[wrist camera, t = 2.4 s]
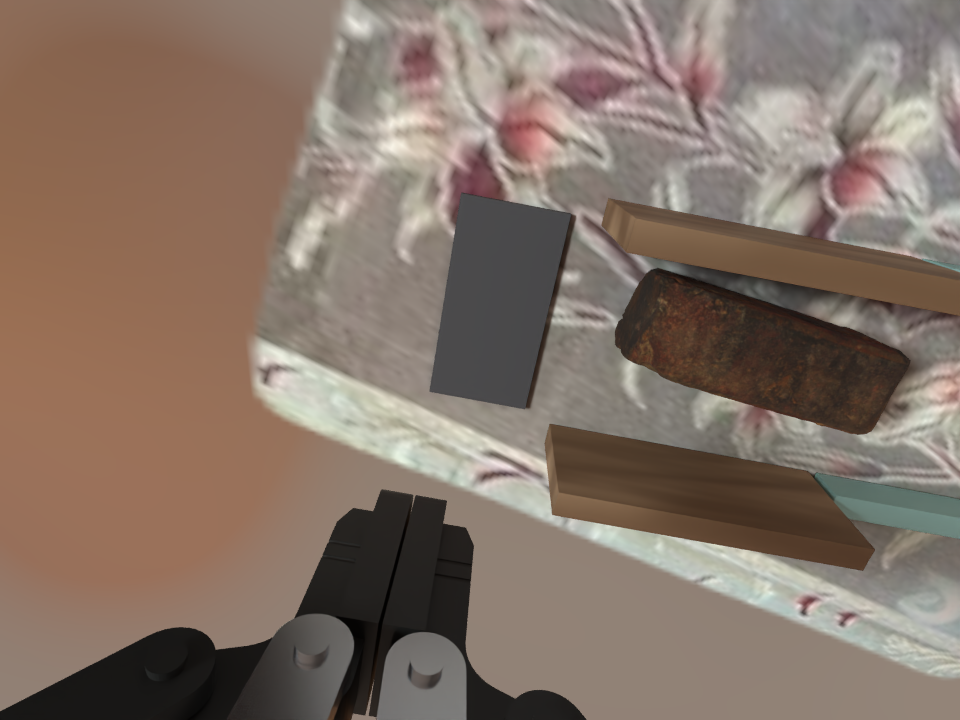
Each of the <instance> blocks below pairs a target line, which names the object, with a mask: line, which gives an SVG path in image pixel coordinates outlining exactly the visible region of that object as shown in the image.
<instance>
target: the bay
mask: <svg viewBox="0 0 960 720" xmlns="http://www.w3.org/2000/svg"><path fill="white" fill-rule="evenodd" d="M922 260H924V261H927V262H930V263H933V264H936V265H939V266H942V267H945V268H949V269H952V270H955V271H958V272H960V266H958V265H953V264H948V263H942V262H937V261H932V260H927V259H922ZM814 479H815V481H816V482H817V483H818V484H819V485H820V486H821V488H822V489H823V490H824V491H825V492H826V493H827V494H828V496H829V497H830V498H831V499H832V500H833V501H834V503H835V504H836V505H837V506H838V507H839V508H840V510H841V511H842V512H843V513H844V514H845V515H846V517H847V518H848V519H853V520H858V521H864V522H869V523H875V524H880V525H886V526H891V527H897V528H902V529H908V530H913V531H919V532H924V533H930V534H935V535H941V536H946V537H952V538H957V539H960V499H957V498H951V497H946V496H940V495H935V494H929V493H924V492H918V491H913V490H908V489H902V488H897V487H891V486H886V485H880V484H875V483H869V482H864V481H858V480H853V479H847V478H842V477H837V476H831V475H826V474H820V473H816V475H815V477H814Z"/></svg>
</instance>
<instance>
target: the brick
mask: <svg viewBox="0 0 960 720" xmlns="http://www.w3.org/2000/svg"><path fill="white" fill-rule="evenodd" d="M615 345H616V346H617V347H618V348H620V349H621V353H622V355H623V356H624V357H625V358H626V359H628V360H630V361H632V362H633V363H636V364H638V365H642V366H645V367H647V368H648V369H650V370H652V371H655V372H657V373H658V374H659V375H660V376H661V377H663V378H665V379H668V380H670V381H673V382H675V383H679V384H682V385H684V386H687V387H690V388H695V389H699V390H702V391H705V392H708V393H711V394H714V395H718V396H721V397H725V398H728V399H732V400H735V401H738V402H742V403H745V404H749V405H752V406H755V407H759V408H762V409H766V410H770V411H774V412H776V413H780V414H783V415H787V416H791V417H795V418H798V419H801V420H806V421H811V422H814V423H816V424H817V425H820V426H826V427H830V428H834V429H838V430H841V431H844V432H847V433H850V434H857V435H860V434H867V433H869V432H871V431H872V430H873V428H874V427H875V425H876V423H877V421H878V420H879V418H880V416H881V414H882V412H883V410H884V408H885V406H886V404H887V402H888V400H889V399H890V397H891V395H892V393H893V392H894V390H895V388H896V387H897V385H898V383H899V382H900V380H901V378H902V377H903V375H904V373H905V371H906V370H907V368H908V366H909V364H910V360H909V359H908V358H907V357H906V356H905V355H904V354H903V353H902V352H900V351H899V350H897V349H894V348H892V347H889V346H887V345H885V344H883V343H880V342H878V341H877V340H875V339H873V338H870V337H868V336H866V335H864V334H862V333H860V332H857V331H855V330H852V329H850V328H847V327H840V326H837V325H834V324H832V323H828V322H824V321H821V320H819V319H817V318H814V317H811V316H807V315H804V314H802V313H799V312H796V311H792V310H789V309H785V308H782V307H779V306H776V305H773V304H771V303H768V302H764V301H761V300H758V299H755V298H752V297H748V296H745V295H741V294H738V293H735V292H732V291H730V290H726V289H723V288H719V287H716V286H713V285H710V284H707V283H704V282H702V281H698V280H695V279H693V278H689V277H686V276H682V275H679V274H675V273H673V272H669V271H666V270H663V269H660V268H657V269H653V270H650V271H649V272H648V273H647V274H646V275H645V277H644V278H643V280H642V281H641V282H640V283H639V285H638V287H637V288H636V290H635V292H634V294H633V296H632V298H631V300H630V302H629V304H628V306H627V308H626V309H625V313H624V314H623V319H621V320H620V321H619V322H618V324H617V327H616V330H615Z"/></svg>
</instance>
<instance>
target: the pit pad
mask: <svg viewBox="0 0 960 720" xmlns="http://www.w3.org/2000/svg"><path fill="white" fill-rule="evenodd" d="M570 217H571V214H570V213H565V212H560V211H555V210H550V209H544V208H539V207H534V206H529V205H524V204H518V203H513V202H508V201H503V200H497V199H492V198H487V197H482V196H477V195H471V194H466V193H461V198H460V204H459V210H458V217H457V223H456V229H455V235H454V242H453V248H452V254H451V261H450V267H449V273H448V279H447V286H446V292H445V298H444V304H443V311H442V317H441V323H440V330H439V336H438V342H437V348H436V355H435V361H434V367H433V373H432V380H431V386H430V392H434V393H440V394H445V395H451V396H456V397H462V398H467V399H472V400H478V401H483V402H489V403H494V404H500V405H505V406H511V407H516V408H522V409H525V407H526V402H527V398H528V394H529V390H530V386H531V381H532V377H533V373H534V369H535V364H536V360H537V356H538V352H539V348H540V343H541V339H542V335H543V331H544V327H545V322H546V318H547V314H548V310H549V306H550V301H551V297H552V293H553V289H554V284H555V280H556V276H557V272H558V268H559V263H560V259H561V255H562V251H563V247H564V242H565V238H566V234H567V230H568V226H569V221H570Z"/></svg>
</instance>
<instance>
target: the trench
mask: <svg viewBox="0 0 960 720" xmlns="http://www.w3.org/2000/svg"><path fill="white" fill-rule="evenodd" d="M602 226H603V227H604V228H605V230H606V231H607V232H608V233H609V234H610V235H611V236H612V237H613V238H614V239H615V240H616V241H617V243H618V244H619V245H620V246H621V247H622V248H623V249H624V250H625V251H626V252H627V253H632V254H637V255H643V256H648V257H653V258H658V259H664V260H669V261H674V262H680V263H685V264H690V265H695V266H701V267H706V268H711V269H716V270H722V271H727V272H732V273H737V274H743V275H748V276H753V277H758V278H764V279H769V280H774V281H779V282H785V283H790V284H795V285H800V286H806V287H811V288H816V289H821V290H827V291H832V292H837V293H842V294H848V295H853V296H858V297H864V298H869V299H874V300H879V301H885V302H890V303H895V304H900V305H906V306H911V307H916V308H921V309H927V310H932V311H937V312H942V313H948V314H953V315H958V316H960V272H958V271H955V270H952V269H949V268H945V267H942V266H939V265H936V264H933V263H930V262H927V261H924V260H921V259H918V258H914V257H911V256H906V255H901V254H895V253H890V252H885V251H880V250H875V249H869V248H864V247H859V246H854V245H849V244H843V243H838V242H833V241H828V240H823V239H817V238H812V237H807V236H802V235H797V234H791V233H786V232H781V231H776V230H771V229H765V228H760V227H755V226H750V225H745V224H739V223H734V222H729V221H724V220H719V219H713V218H708V217H703V216H698V215H693V214H687V213H682V212H677V211H672V210H667V209H661V208H656V207H651V206H646V205H640V204H635V203H630V202H625V201H620V200H614V199H609V198H608V202H607V206H606V210H605V214H604V217H603V221H602ZM545 451H546V460H547V469H548V479H549V488H550V498H551V507H552V515H556V516H561V517H567V518H572V519H578V520H583V521H589V522H595V523H600V524H606V525H611V526H617V527H622V528H628V529H634V530H639V531H645V532H650V533H656V534H661V535H667V536H672V537H678V538H684V539H689V540H695V541H700V542H706V543H711V544H717V545H723V546H728V547H734V548H739V549H745V550H750V551H756V552H762V553H767V554H773V555H778V556H784V557H789V558H795V559H801V560H806V561H812V562H817V563H823V564H828V565H834V566H839V567H845V568H851V569H856V570H862V571H863V570H864V568H865V566H866V564H867V563H868V561H869V559H870V558H871V556H872V554H873V552H874V551H875V549H874V548H873V547H872V546H871V544H870V543H869V542H868V541H867V540H866V539H865V537H864V536H863V535H862V534H861V533H860V532H859V530H858V529H857V528H856V527H855V526H854V525H853V523H852V522H851V521H850V520H849V519H848V518H847V517H846V515H845V514H844V513H843V512H842V511H841V510H840V508H839V507H838V506H837V505H836V504H835V503H834V501H833V500H832V499H831V498H830V497H829V496H828V494H827V493H826V492H825V491H824V490H823V489H822V488H821V486H820V485H819V484H818V483H817V482H816V481H815V479H814V478H813V477H812V476H811V475H810V474H809V472H808V471H804V470H798V469H793V468H787V467H782V466H776V465H771V464H766V463H760V462H755V461H749V460H744V459H738V458H733V457H727V456H722V455H716V454H711V453H705V452H700V451H695V450H689V449H684V448H678V447H673V446H667V445H662V444H656V443H651V442H645V441H640V440H634V439H629V438H624V437H618V436H613V435H607V434H602V433H596V432H591V431H585V430H580V429H574V428H569V427H563V426H558V425H553V424H550V425H549V429H548V433H547V436H546V440H545Z"/></svg>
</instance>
